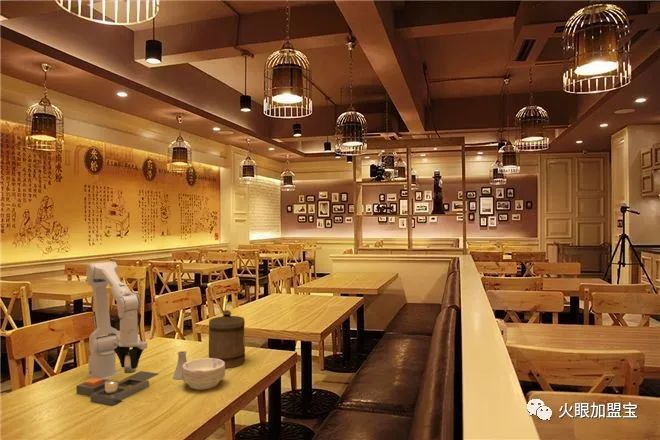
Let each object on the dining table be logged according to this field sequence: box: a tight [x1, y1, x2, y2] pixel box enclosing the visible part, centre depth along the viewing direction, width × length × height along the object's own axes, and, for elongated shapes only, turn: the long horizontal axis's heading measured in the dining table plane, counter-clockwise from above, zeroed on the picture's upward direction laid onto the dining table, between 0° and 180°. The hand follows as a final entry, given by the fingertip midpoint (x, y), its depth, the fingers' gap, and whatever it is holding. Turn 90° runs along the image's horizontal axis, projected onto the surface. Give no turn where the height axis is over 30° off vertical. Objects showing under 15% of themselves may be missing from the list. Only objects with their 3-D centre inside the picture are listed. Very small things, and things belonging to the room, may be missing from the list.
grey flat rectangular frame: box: [90, 377, 150, 407], centre depth 157 cm, size 10×16×2 cm, turn 159°
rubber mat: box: [123, 370, 159, 381], centre depth 173 cm, size 9×9×1 cm
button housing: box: [75, 378, 109, 398], centre depth 160 cm, size 8×8×3 cm
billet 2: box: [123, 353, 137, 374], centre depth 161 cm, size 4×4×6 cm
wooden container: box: [208, 309, 246, 369], centre depth 189 cm, size 15×15×22 cm
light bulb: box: [105, 379, 119, 396], centre depth 153 cm, size 4×4×6 cm
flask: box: [172, 350, 188, 381], centre depth 172 cm, size 7×7×10 cm
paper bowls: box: [181, 357, 226, 391], centre depth 165 cm, size 15×15×8 cm
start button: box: [85, 377, 104, 386], centre depth 160 cm, size 4×4×3 cm
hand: (129, 367), depth 160 cm, fingers closed on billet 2, 4 cm apart
